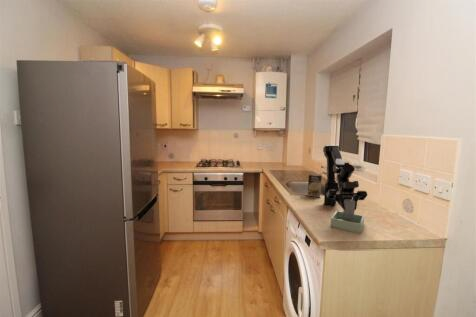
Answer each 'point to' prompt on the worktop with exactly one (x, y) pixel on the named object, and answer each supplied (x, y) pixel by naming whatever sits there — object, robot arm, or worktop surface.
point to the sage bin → (347, 222)
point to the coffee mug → (347, 197)
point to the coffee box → (314, 185)
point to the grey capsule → (349, 210)
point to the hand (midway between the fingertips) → (349, 209)
